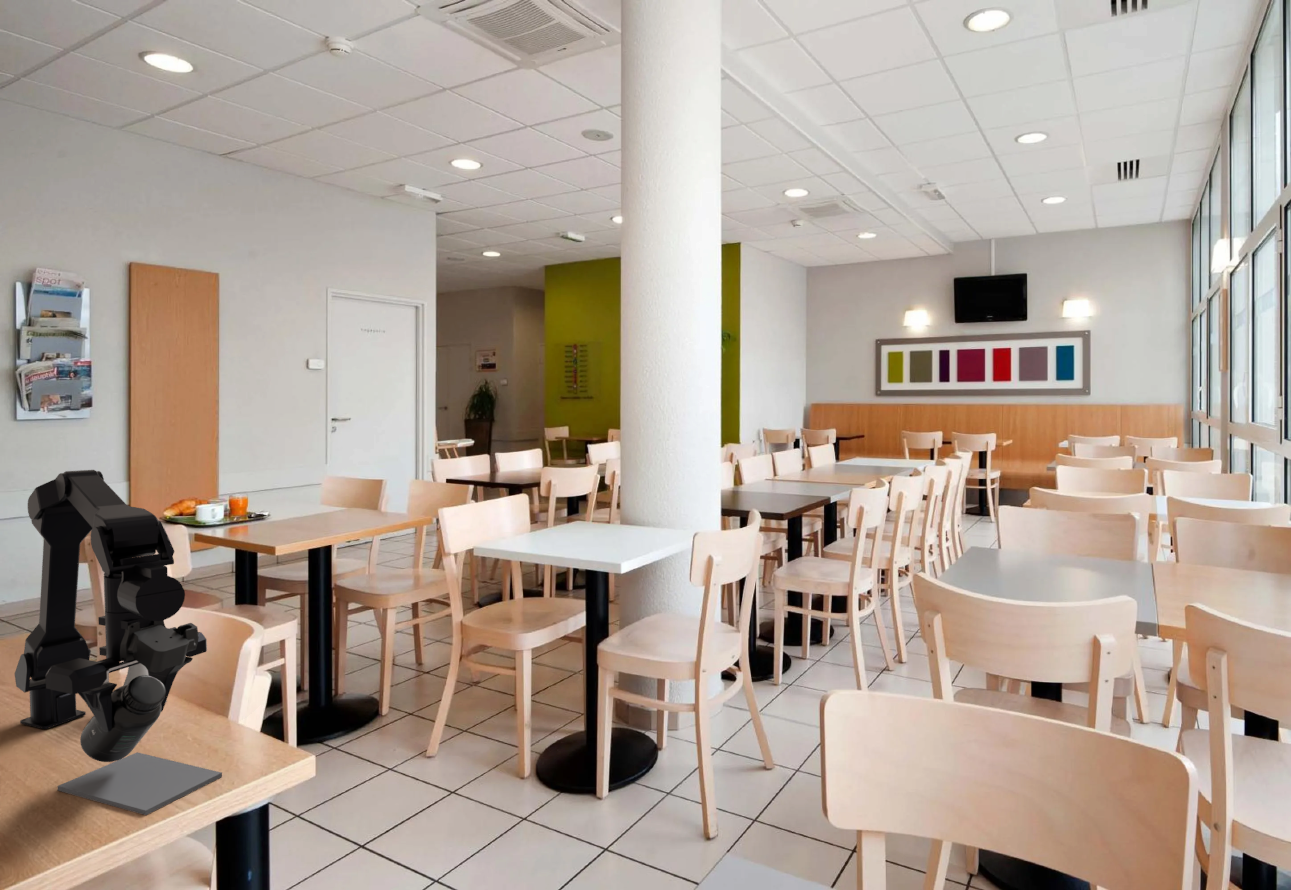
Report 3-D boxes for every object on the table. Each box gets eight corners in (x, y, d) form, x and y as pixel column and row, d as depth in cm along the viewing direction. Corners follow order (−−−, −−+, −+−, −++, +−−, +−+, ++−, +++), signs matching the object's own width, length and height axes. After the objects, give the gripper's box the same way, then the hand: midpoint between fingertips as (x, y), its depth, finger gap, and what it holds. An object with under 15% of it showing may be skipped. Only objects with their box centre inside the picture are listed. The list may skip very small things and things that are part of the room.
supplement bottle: (75, 721, 109) (115, 669, 105) (129, 717, 114) (169, 667, 111) (81, 767, 105) (123, 714, 102) (137, 760, 111) (178, 710, 107)
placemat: (57, 790, 105) (57, 785, 105) (137, 756, 116) (137, 752, 116) (145, 815, 99) (145, 810, 99) (222, 776, 109) (221, 772, 109)
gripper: (100, 633, 95) (104, 760, 96) (233, 597, 112) (236, 705, 113) (40, 623, 99) (45, 744, 100) (178, 590, 116) (180, 694, 117)
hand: (133, 721), depth 107 cm, fingers closed on supplement bottle, 7 cm apart
